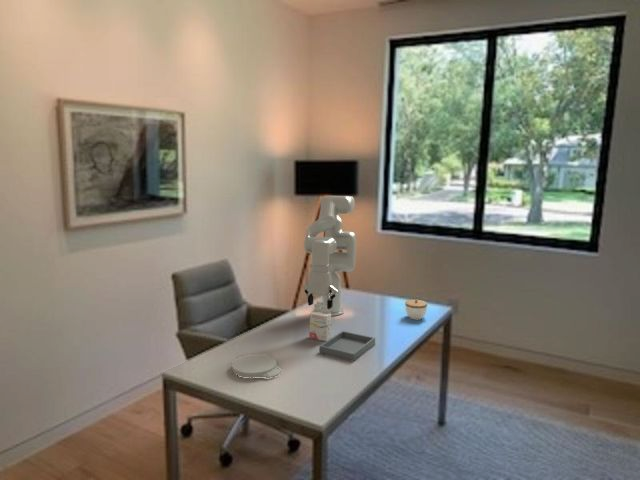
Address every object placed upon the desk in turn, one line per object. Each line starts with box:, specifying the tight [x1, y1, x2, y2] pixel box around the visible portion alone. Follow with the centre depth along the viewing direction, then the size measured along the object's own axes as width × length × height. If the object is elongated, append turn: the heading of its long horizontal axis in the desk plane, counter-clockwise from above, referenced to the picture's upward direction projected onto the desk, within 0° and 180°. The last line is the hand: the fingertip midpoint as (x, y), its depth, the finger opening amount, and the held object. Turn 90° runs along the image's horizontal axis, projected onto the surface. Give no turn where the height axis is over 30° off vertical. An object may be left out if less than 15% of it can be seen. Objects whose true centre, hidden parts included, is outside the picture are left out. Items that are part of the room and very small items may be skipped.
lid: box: [230, 353, 282, 378], centre depth 184 cm, size 17×20×3 cm
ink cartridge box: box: [309, 303, 332, 342], centre depth 214 cm, size 9×5×15 cm, turn 65°
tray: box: [318, 330, 376, 362], centre depth 204 cm, size 16×20×3 cm
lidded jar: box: [404, 299, 428, 321], centre depth 242 cm, size 11×11×9 cm
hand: (320, 306), depth 212 cm, fingers open, 9 cm apart
